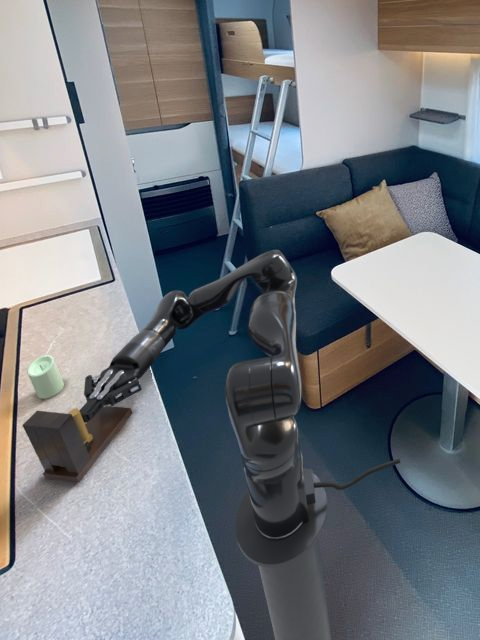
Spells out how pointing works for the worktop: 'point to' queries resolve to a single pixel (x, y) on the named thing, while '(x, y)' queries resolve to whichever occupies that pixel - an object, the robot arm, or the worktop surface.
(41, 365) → the candle
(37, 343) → the worktop surface
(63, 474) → the latch
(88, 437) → the bolt
